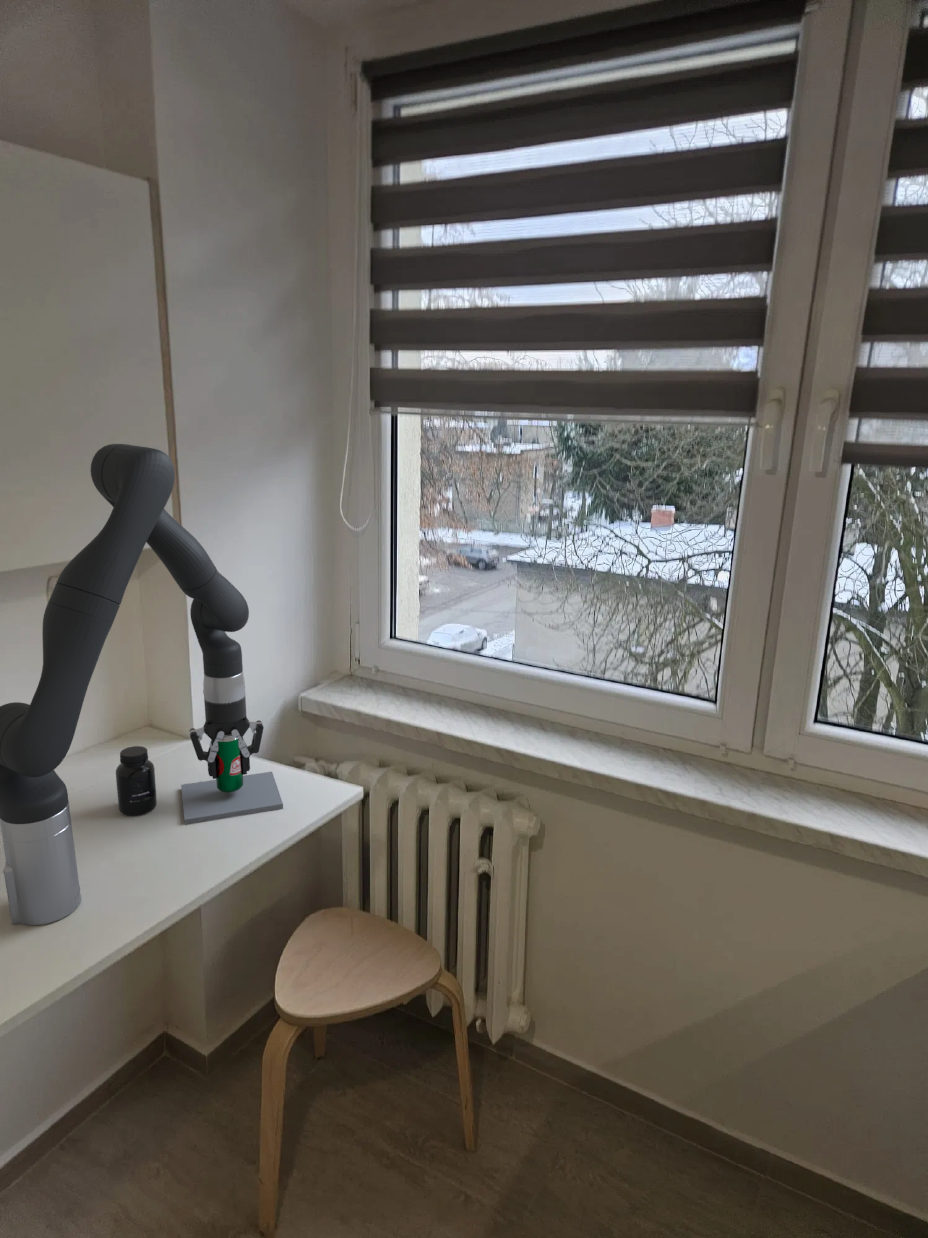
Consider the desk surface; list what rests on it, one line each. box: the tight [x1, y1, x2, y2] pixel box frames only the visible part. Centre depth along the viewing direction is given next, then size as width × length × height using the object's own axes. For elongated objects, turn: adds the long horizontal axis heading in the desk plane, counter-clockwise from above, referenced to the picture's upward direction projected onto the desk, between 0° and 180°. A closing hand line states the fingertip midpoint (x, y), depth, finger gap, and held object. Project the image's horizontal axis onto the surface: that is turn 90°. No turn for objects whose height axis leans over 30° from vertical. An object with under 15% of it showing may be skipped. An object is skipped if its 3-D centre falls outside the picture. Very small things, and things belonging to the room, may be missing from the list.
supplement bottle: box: [115, 745, 158, 817], centre depth 148 cm, size 7×7×12 cm
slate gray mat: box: [180, 771, 284, 825], centre depth 154 cm, size 18×14×1 cm
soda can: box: [215, 734, 244, 793], centre depth 152 cm, size 5×5×12 cm
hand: (229, 774), depth 153 cm, fingers closed on soda can, 5 cm apart
